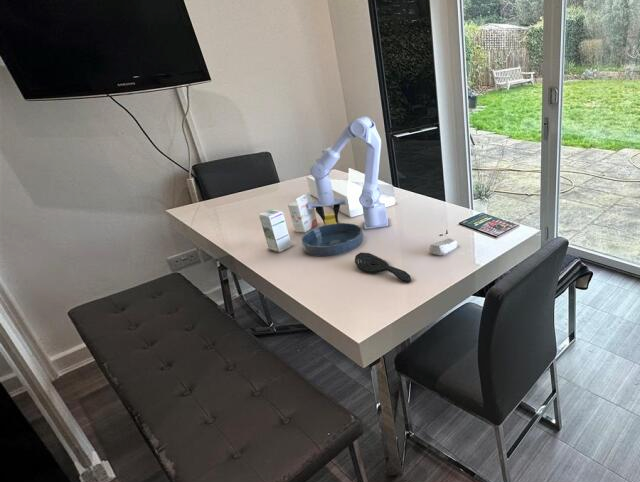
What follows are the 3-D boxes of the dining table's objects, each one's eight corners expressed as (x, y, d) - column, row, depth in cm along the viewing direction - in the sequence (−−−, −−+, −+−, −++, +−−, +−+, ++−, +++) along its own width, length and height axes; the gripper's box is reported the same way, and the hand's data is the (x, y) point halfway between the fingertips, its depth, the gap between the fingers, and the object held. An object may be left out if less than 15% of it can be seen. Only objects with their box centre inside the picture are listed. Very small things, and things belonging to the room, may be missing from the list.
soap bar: (451, 253, 154) (451, 238, 154) (461, 254, 150) (461, 238, 150) (428, 254, 147) (428, 238, 147) (439, 255, 143) (439, 239, 143)
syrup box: (292, 246, 154) (283, 210, 148) (278, 252, 149) (268, 216, 143) (282, 243, 156) (272, 208, 150) (268, 250, 151) (257, 214, 145)
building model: (310, 194, 208) (306, 176, 204) (351, 184, 223) (348, 167, 219) (351, 217, 179) (347, 197, 175) (395, 204, 194) (392, 185, 190)
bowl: (363, 229, 168) (362, 220, 166) (363, 251, 149) (361, 241, 147) (307, 236, 161) (305, 227, 160) (300, 261, 143) (297, 250, 141)
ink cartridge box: (307, 223, 173) (300, 190, 168) (318, 224, 173) (310, 191, 167) (294, 231, 166) (285, 197, 160) (304, 232, 165) (296, 198, 159)
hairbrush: (399, 280, 125) (348, 255, 137) (400, 290, 127) (349, 265, 139) (419, 268, 132) (368, 246, 144) (419, 278, 133) (369, 255, 145)
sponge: (337, 221, 175) (335, 213, 173) (336, 227, 169) (334, 219, 167) (327, 222, 174) (325, 214, 172) (326, 229, 168) (324, 220, 166)
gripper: (344, 186, 171) (349, 216, 176) (306, 190, 166) (313, 221, 172) (343, 191, 165) (349, 222, 170) (304, 196, 160) (311, 227, 166)
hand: (331, 222), depth 171 cm, fingers closed on sponge, 4 cm apart
